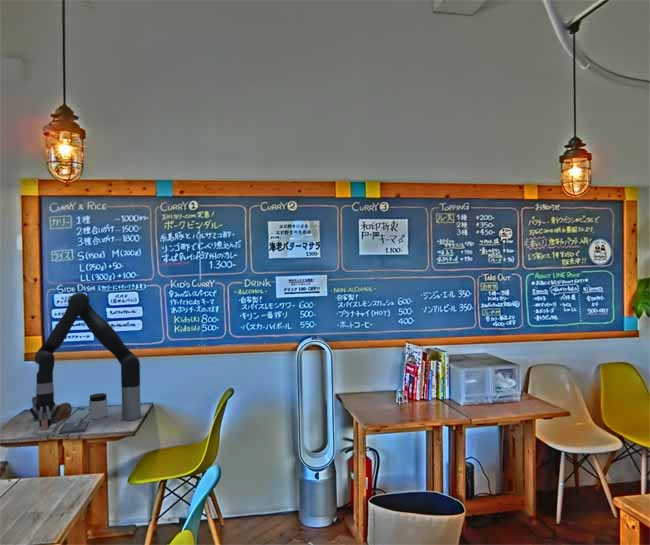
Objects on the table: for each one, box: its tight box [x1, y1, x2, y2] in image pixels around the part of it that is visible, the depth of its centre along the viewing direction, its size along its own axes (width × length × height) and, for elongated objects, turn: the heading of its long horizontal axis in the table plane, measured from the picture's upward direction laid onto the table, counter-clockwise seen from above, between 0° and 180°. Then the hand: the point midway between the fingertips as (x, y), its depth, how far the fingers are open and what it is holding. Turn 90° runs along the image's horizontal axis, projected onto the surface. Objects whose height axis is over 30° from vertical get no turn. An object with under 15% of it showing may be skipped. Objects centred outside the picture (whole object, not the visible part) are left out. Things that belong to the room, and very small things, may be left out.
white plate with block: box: [36, 417, 59, 437], centre depth 239 cm, size 7×12×6 cm, turn 19°
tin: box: [51, 402, 73, 424], centre depth 259 cm, size 15×3×8 cm, turn 168°
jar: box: [88, 392, 108, 420], centre depth 263 cm, size 9×8×12 cm
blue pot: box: [31, 395, 48, 422], centre depth 261 cm, size 10×10×12 cm
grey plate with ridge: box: [58, 416, 90, 435], centre depth 243 cm, size 11×15×4 cm
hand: (45, 426), depth 239 cm, fingers closed on white plate with block, 2 cm apart
